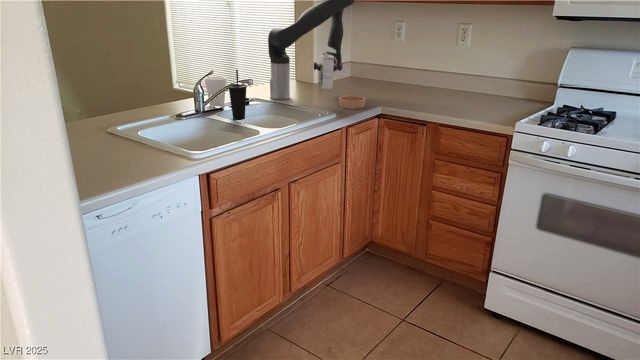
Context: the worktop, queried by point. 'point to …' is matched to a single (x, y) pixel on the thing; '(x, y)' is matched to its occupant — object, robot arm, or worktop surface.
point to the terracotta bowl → (352, 102)
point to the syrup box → (326, 72)
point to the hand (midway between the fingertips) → (326, 68)
